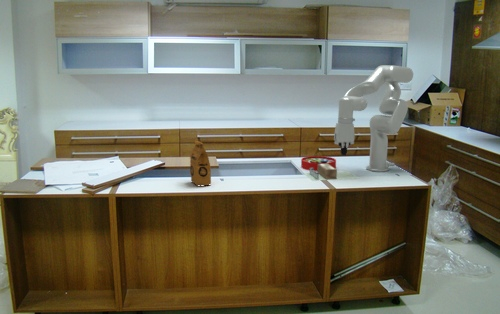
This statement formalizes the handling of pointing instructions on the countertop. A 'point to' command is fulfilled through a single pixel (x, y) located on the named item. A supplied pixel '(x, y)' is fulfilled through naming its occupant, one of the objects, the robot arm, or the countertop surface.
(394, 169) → the countertop surface
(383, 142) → the robot arm
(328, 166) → the brown rectangular block
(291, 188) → the countertop surface
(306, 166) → the toy clock
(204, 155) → the coffee package
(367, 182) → the countertop surface
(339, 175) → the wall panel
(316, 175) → the screw rail
